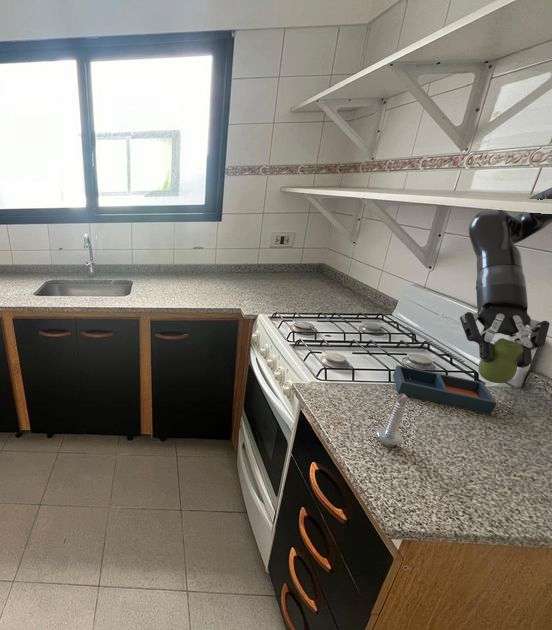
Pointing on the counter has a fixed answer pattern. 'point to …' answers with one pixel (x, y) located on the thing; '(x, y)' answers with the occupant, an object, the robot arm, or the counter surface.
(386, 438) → the screw
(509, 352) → the pear
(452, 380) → the tray
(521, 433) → the counter surface
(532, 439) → the counter surface
